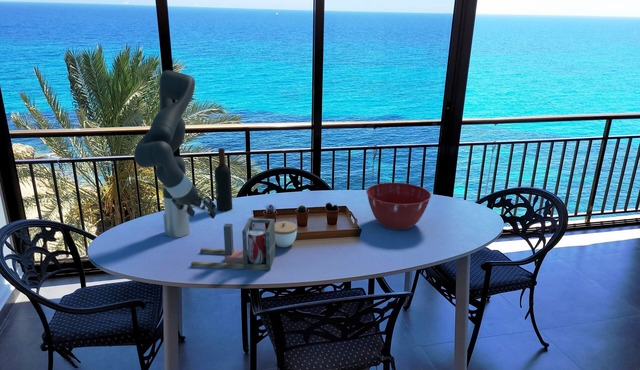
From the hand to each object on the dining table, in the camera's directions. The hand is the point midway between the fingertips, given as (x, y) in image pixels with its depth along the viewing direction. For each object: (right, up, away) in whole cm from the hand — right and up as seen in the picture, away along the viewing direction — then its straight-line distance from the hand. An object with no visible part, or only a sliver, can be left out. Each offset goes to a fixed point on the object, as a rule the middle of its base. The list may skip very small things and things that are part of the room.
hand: (203, 215), depth 156 cm
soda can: (+17, -18, +12) cm, 28 cm away
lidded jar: (+26, -14, +27) cm, 40 cm away
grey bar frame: (+9, -18, +12) cm, 23 cm away
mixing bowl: (+75, -7, +48) cm, 89 cm away
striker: (+9, -18, +12) cm, 23 cm away
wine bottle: (-6, -1, +63) cm, 63 cm away
